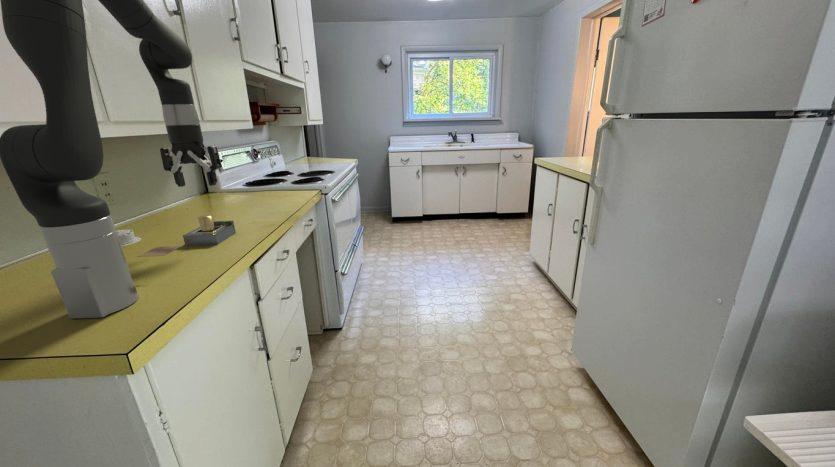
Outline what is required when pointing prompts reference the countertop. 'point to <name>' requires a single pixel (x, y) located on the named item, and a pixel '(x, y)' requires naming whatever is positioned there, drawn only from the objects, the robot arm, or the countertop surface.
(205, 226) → the translucent brown rounded cylinder
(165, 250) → the brown square panel
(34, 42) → the robot arm
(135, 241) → the mechanical component
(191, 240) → the grey square frame
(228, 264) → the countertop surface
